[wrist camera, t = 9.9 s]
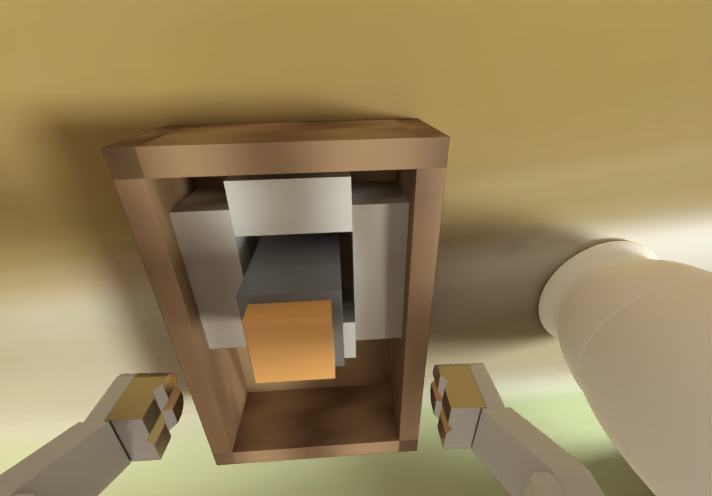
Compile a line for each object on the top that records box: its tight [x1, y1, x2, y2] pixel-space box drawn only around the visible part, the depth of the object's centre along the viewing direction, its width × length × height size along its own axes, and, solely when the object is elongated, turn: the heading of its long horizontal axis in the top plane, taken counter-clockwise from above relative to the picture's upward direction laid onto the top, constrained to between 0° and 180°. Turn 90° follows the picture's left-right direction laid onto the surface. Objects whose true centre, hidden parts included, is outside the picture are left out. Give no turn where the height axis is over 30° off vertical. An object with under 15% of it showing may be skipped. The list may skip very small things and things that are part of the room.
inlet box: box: [102, 119, 450, 465], centre depth 20 cm, size 13×20×6 cm, turn 1°
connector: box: [236, 232, 345, 383], centre depth 16 cm, size 4×4×8 cm
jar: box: [539, 241, 712, 496], centre depth 17 cm, size 11×10×15 cm
